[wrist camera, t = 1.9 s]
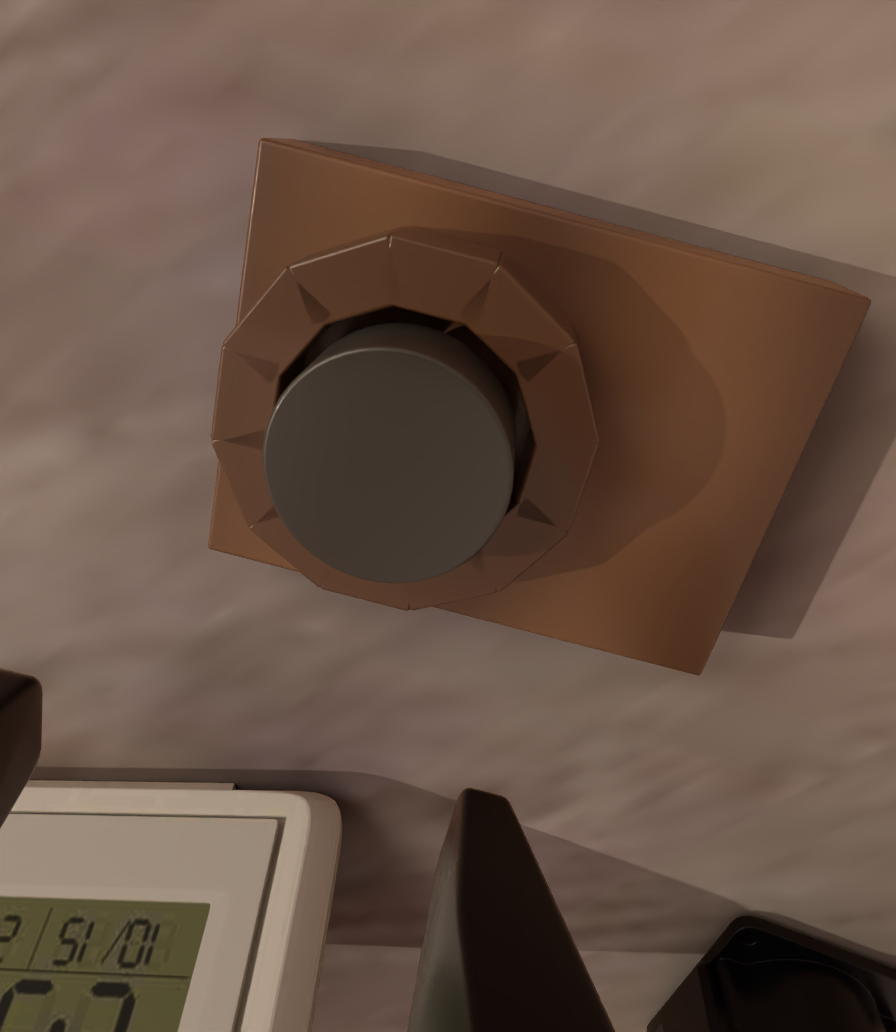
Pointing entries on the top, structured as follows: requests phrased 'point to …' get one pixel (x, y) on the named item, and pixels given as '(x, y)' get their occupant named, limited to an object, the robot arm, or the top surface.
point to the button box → (542, 392)
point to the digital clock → (164, 907)
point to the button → (392, 454)
